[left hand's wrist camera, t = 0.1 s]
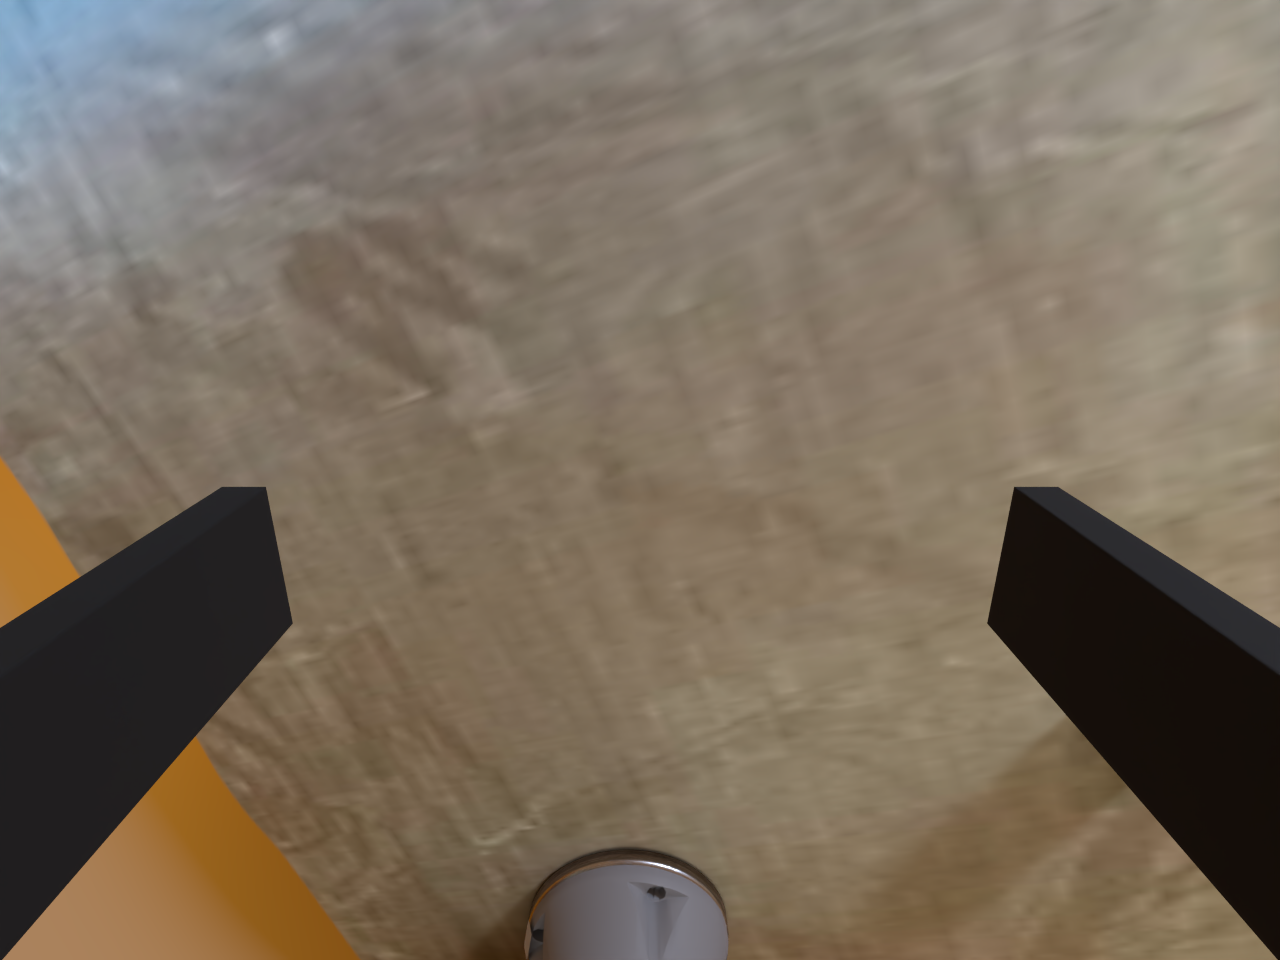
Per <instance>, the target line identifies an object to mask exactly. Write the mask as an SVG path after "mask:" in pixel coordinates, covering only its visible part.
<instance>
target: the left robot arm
mask: <svg viewBox="0 0 1280 960" xmlns="http://www.w3.org/2000/svg"><path fill="white" fill-rule="evenodd" d="M292 624H293V622H292V617H291V612H290V607H289V602H288V597H287V592H286V587H285V582H284V577H283V572H282V567H281V562H280V557H279V552H278V547H277V542H276V536H275V531H274V526H273V521H272V516H271V511H270V506H269V501H268V496H267V491H266V487H221V488H220V489H218V490H217V491H215V492H213V493H212V494H210V495H209V496H207V497H206V498H204V499H202V500H201V501H199V502H198V503H196V504H195V505H193V506H191V507H190V508H188V509H187V510H185V511H183V512H182V513H180V514H179V515H177V516H176V517H174V518H172V519H171V520H169V521H168V522H166V523H165V524H163V525H161V526H160V527H158V528H157V529H155V530H154V531H152V532H150V533H149V534H147V535H146V536H144V537H143V538H141V539H139V540H138V541H136V542H135V543H133V544H132V545H130V546H128V547H127V548H125V549H124V550H122V551H121V552H119V553H117V554H116V555H114V556H113V557H111V558H110V559H108V560H106V561H105V562H103V563H102V564H100V565H99V566H97V567H95V568H94V569H92V570H91V571H89V572H88V573H86V574H84V575H83V576H81V577H80V578H78V579H77V580H75V581H73V582H72V583H70V584H69V585H67V586H66V587H64V588H62V589H61V590H59V591H58V592H56V593H55V594H53V595H51V596H50V597H48V598H47V599H45V600H44V601H42V602H40V603H39V604H37V605H36V606H34V607H33V608H31V609H29V610H28V611H26V612H25V613H23V614H21V615H20V616H18V617H17V618H15V619H14V620H12V621H11V622H9V623H7V624H6V625H4V626H3V627H1V628H0V960H2V959H3V958H4V957H5V956H6V955H7V954H8V952H9V951H10V950H11V949H12V948H13V946H14V945H15V944H16V943H17V942H18V941H19V940H20V938H21V937H22V936H23V935H24V934H25V933H26V932H27V930H28V929H29V928H30V927H31V926H32V925H33V923H34V922H35V921H36V920H37V919H38V918H39V917H40V915H41V914H42V913H43V912H44V911H45V910H46V908H47V907H48V906H49V905H50V904H51V903H52V901H53V900H54V899H55V898H56V897H57V896H58V895H59V893H60V892H61V891H62V890H63V889H64V888H65V886H66V885H67V884H68V883H69V882H70V881H71V879H72V878H73V877H74V876H75V875H76V874H77V872H78V871H79V870H80V869H81V868H82V867H83V866H84V864H85V863H86V862H87V861H88V860H89V859H90V857H91V856H92V855H93V854H94V853H95V852H96V850H97V849H98V848H99V847H100V846H101V845H102V843H103V842H104V841H105V840H106V839H107V838H108V837H109V835H110V834H111V833H112V832H113V831H114V830H115V828H116V827H117V826H118V825H119V824H120V823H121V822H122V820H123V819H124V818H125V817H126V816H127V815H128V813H129V812H130V811H131V810H132V809H133V808H134V807H135V805H136V804H137V803H138V802H139V801H140V800H141V798H142V797H143V796H144V795H145V794H146V793H147V791H148V790H149V789H150V788H151V787H152V786H153V785H154V783H155V782H156V781H157V780H158V779H159V778H160V776H161V775H162V774H163V773H164V772H165V771H166V769H167V768H168V767H169V766H170V765H171V764H172V763H173V761H174V760H175V759H176V758H177V757H178V756H179V754H180V753H181V752H182V751H183V750H184V749H185V747H186V746H187V745H188V744H189V743H190V742H191V740H192V739H193V738H194V737H195V736H196V735H197V734H198V732H199V731H200V730H201V729H202V728H203V727H204V725H205V724H206V723H207V722H208V721H209V720H210V719H211V717H212V716H213V715H214V714H215V713H216V712H217V710H218V709H219V708H220V707H221V706H222V705H223V703H224V702H225V701H226V700H227V699H228V698H229V697H230V695H231V694H232V693H233V692H234V691H235V690H236V688H237V687H238V686H239V685H240V684H241V683H242V681H243V680H244V679H245V678H246V677H247V676H248V675H249V673H250V672H251V671H252V670H253V669H254V668H255V666H256V665H257V664H258V663H259V662H260V661H261V659H262V658H263V657H264V656H265V655H266V654H267V653H268V651H269V650H270V649H271V648H272V647H273V646H274V644H275V643H276V642H277V641H278V640H279V639H280V637H281V636H282V635H283V634H284V633H285V632H286V631H287V629H288V628H289V627H290V626H291V625H292ZM987 624H988V625H989V626H990V627H991V628H992V629H993V631H994V632H995V633H996V634H997V635H998V636H999V637H1000V639H1001V640H1002V641H1003V642H1004V643H1005V644H1006V646H1007V647H1008V648H1009V649H1010V650H1011V651H1012V653H1013V654H1014V655H1015V656H1016V657H1017V658H1018V659H1019V661H1020V662H1021V663H1022V664H1023V665H1024V666H1025V668H1026V669H1027V670H1028V671H1029V672H1030V673H1031V675H1032V676H1033V677H1034V678H1035V679H1036V680H1037V681H1038V683H1039V684H1040V685H1041V686H1042V687H1043V688H1044V690H1045V691H1046V692H1047V693H1048V694H1049V695H1050V697H1051V698H1052V699H1053V700H1054V701H1055V702H1056V703H1057V705H1058V706H1059V707H1060V708H1061V709H1062V710H1063V712H1064V713H1065V714H1066V715H1067V716H1068V717H1069V719H1070V720H1071V721H1072V722H1073V723H1074V724H1075V725H1076V727H1077V728H1078V729H1079V730H1080V731H1081V732H1082V734H1083V735H1084V736H1085V737H1086V738H1087V739H1088V741H1089V742H1090V743H1091V744H1092V745H1093V746H1094V747H1095V749H1096V750H1097V751H1098V752H1099V753H1100V754H1101V756H1102V757H1103V758H1104V759H1105V760H1106V761H1107V763H1108V764H1109V765H1110V766H1111V767H1112V768H1113V769H1114V771H1115V772H1116V773H1117V774H1118V775H1119V776H1120V778H1121V779H1122V780H1123V781H1124V782H1125V783H1126V785H1127V786H1128V787H1129V788H1130V789H1131V790H1132V791H1133V793H1134V794H1135V795H1136V796H1137V797H1138V798H1139V800H1140V801H1141V802H1142V803H1143V804H1144V805H1145V807H1146V808H1147V809H1148V810H1149V811H1150V812H1151V813H1152V815H1153V816H1154V817H1155V818H1156V819H1157V820H1158V822H1159V823H1160V824H1161V825H1162V826H1163V827H1164V829H1165V830H1166V831H1167V832H1168V833H1169V834H1170V835H1171V837H1172V838H1173V839H1174V840H1175V841H1176V842H1177V844H1178V845H1179V846H1180V847H1181V848H1182V849H1183V851H1184V852H1185V853H1186V854H1187V855H1188V856H1189V857H1190V859H1191V860H1192V861H1193V862H1194V863H1195V864H1196V866H1197V867H1198V868H1199V869H1200V870H1201V871H1202V873H1203V874H1204V875H1205V876H1206V877H1207V878H1208V879H1209V881H1210V882H1211V883H1212V884H1213V885H1214V886H1215V888H1216V889H1217V890H1218V891H1219V892H1220V893H1221V895H1222V896H1223V897H1224V898H1225V899H1226V900H1227V901H1228V903H1229V904H1230V905H1231V906H1232V907H1233V908H1234V910H1235V911H1236V912H1237V913H1238V914H1239V915H1240V917H1241V918H1242V919H1243V920H1244V921H1245V922H1246V923H1247V925H1248V926H1249V927H1250V928H1251V929H1252V930H1253V932H1254V933H1255V934H1256V935H1257V936H1258V937H1259V939H1260V940H1261V941H1262V942H1263V943H1264V944H1265V945H1266V947H1267V948H1268V949H1269V950H1270V951H1271V952H1272V954H1273V955H1274V956H1275V957H1276V958H1277V959H1278V960H1280V628H1279V627H1277V626H1276V625H1274V624H1273V623H1271V622H1270V621H1268V620H1266V619H1265V618H1263V617H1262V616H1260V615H1259V614H1257V613H1255V612H1254V611H1252V610H1251V609H1249V608H1248V607H1246V606H1244V605H1243V604H1241V603H1240V602H1238V601H1237V600H1235V599H1233V598H1232V597H1230V596H1229V595H1227V594H1225V593H1224V592H1222V591H1221V590H1219V589H1218V588H1216V587H1214V586H1213V585H1211V584H1210V583H1208V582H1207V581H1205V580H1203V579H1202V578H1200V577H1199V576H1197V575H1196V574H1194V573H1192V572H1191V571H1189V570H1188V569H1186V568H1185V567H1183V566H1181V565H1180V564H1178V563H1177V562H1175V561H1174V560H1172V559H1170V558H1169V557H1167V556H1166V555H1164V554H1163V553H1161V552H1159V551H1158V550H1156V549H1155V548H1153V547H1152V546H1150V545H1148V544H1147V543H1145V542H1144V541H1142V540H1141V539H1139V538H1137V537H1136V536H1134V535H1133V534H1131V533H1130V532H1128V531H1126V530H1125V529H1123V528H1122V527H1120V526H1119V525H1117V524H1115V523H1114V522H1112V521H1111V520H1109V519H1108V518H1106V517H1104V516H1103V515H1101V514H1100V513H1098V512H1097V511H1095V510H1093V509H1092V508H1090V507H1089V506H1087V505H1085V504H1084V503H1082V502H1081V501H1079V500H1078V499H1076V498H1074V497H1073V496H1071V495H1070V494H1068V493H1067V492H1065V491H1063V490H1062V489H1060V488H1059V487H1014V491H1013V496H1012V501H1011V506H1010V511H1009V516H1008V521H1007V526H1006V531H1005V536H1004V542H1003V547H1002V552H1001V557H1000V562H999V567H998V572H997V577H996V582H995V587H994V592H993V597H992V602H991V607H990V612H989V617H988V622H987Z"/></svg>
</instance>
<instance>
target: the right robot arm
mask: <svg viewBox="0 0 1280 960" xmlns="http://www.w3.org/2000/svg"><path fill="white" fill-rule="evenodd" d="M524 949H525V954H526V960H527V958H528V959H529V960H727V955H728V926H727V918H726V911H725V907H724V904H723V901H722V899H721V897H720V895H719V893H718V891H717V890H716V889H715V887H714V886H713V885H712V883H711V882H710V881H709V880H708V879H707V878H706V877H705V876H704V875H702V874H701V873H700V872H699V871H697V870H696V869H694V868H693V867H691V866H689V865H688V864H686V863H684V862H682V861H680V860H677V859H675V858H672V857H670V856H666V855H663V854H659V853H655V852H649V851H642V850H613V851H606V852H600V853H596V854H592V855H589V856H586V857H583V858H580V859H578V860H575V861H573V862H571V863H569V864H568V865H566V866H564V867H562V868H561V869H559V870H558V871H557V872H555V873H554V874H553V875H552V876H551V877H550V878H549V879H548V880H547V881H546V882H545V883H544V884H543V885H542V887H541V888H540V889H539V891H538V892H537V894H536V896H535V898H534V900H533V903H532V906H531V911H530V917H529V919H528V925H527V931H526V936H525V942H524Z"/></svg>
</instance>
